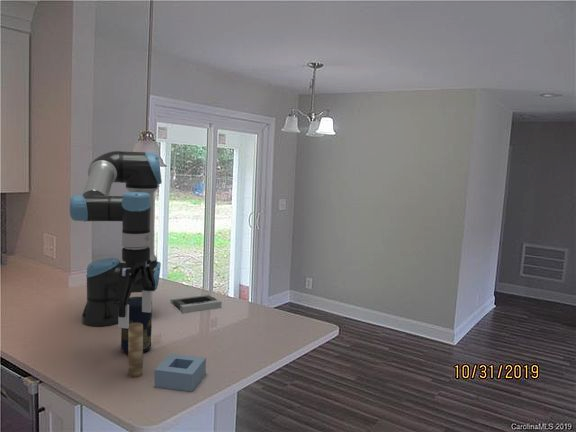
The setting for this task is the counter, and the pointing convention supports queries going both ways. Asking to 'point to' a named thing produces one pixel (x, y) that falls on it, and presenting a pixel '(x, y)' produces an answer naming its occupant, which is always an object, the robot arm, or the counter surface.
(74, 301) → the counter surface
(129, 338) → the dowel
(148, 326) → the canister
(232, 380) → the counter surface
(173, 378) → the socket block
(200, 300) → the gray rectangular tray
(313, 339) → the counter surface
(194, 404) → the counter surface
